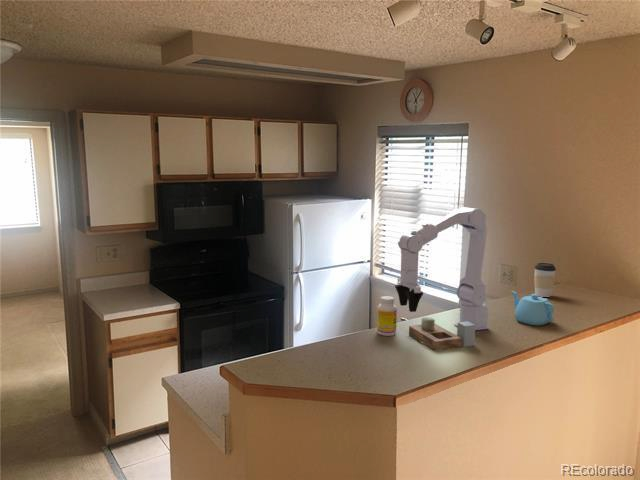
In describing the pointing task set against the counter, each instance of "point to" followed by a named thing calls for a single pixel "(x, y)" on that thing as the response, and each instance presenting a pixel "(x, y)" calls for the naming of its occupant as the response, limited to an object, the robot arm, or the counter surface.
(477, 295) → the robot arm
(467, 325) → the peg
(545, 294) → the coffee cup
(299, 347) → the counter surface
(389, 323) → the supplement bottle
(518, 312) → the teapot
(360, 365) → the counter surface
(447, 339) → the base
